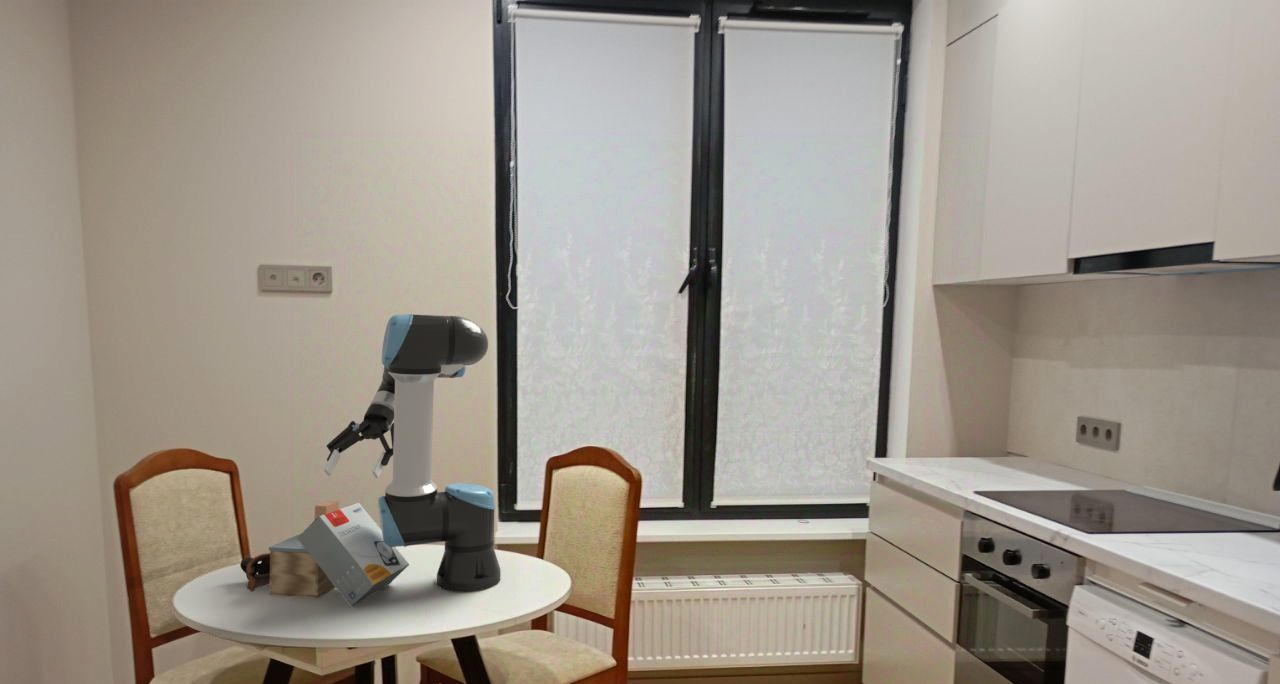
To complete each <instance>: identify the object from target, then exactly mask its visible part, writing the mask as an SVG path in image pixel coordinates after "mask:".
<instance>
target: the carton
mask: <svg viewBox="0 0 1280 684" xmlns="http://www.w3.org/2000/svg"><path fill="white" fill-rule="evenodd" d="M269 553H270V584H269V591H268V592H269V593H268V594H269V596H278V597H279V596H281V597H291V598H293V597H294V598H304V599H305V598H306V599H307V598H308V599H319V598H321V597H322V596H325V595H326V594H328V593H329V592H331V591H333V590H334V589H337V588H336V587H335V586H334V584H333V583H332V582H331V580H330V579H329V578H328V577H327V575H326V574H325V573H324V572H323V570H322V569H321V568H320V566H319V565H318V564H317V563H316V561H315V560H314V559H313V557H312V556H311V555H310V554H309V553H299V552H283V551H269Z"/></svg>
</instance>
